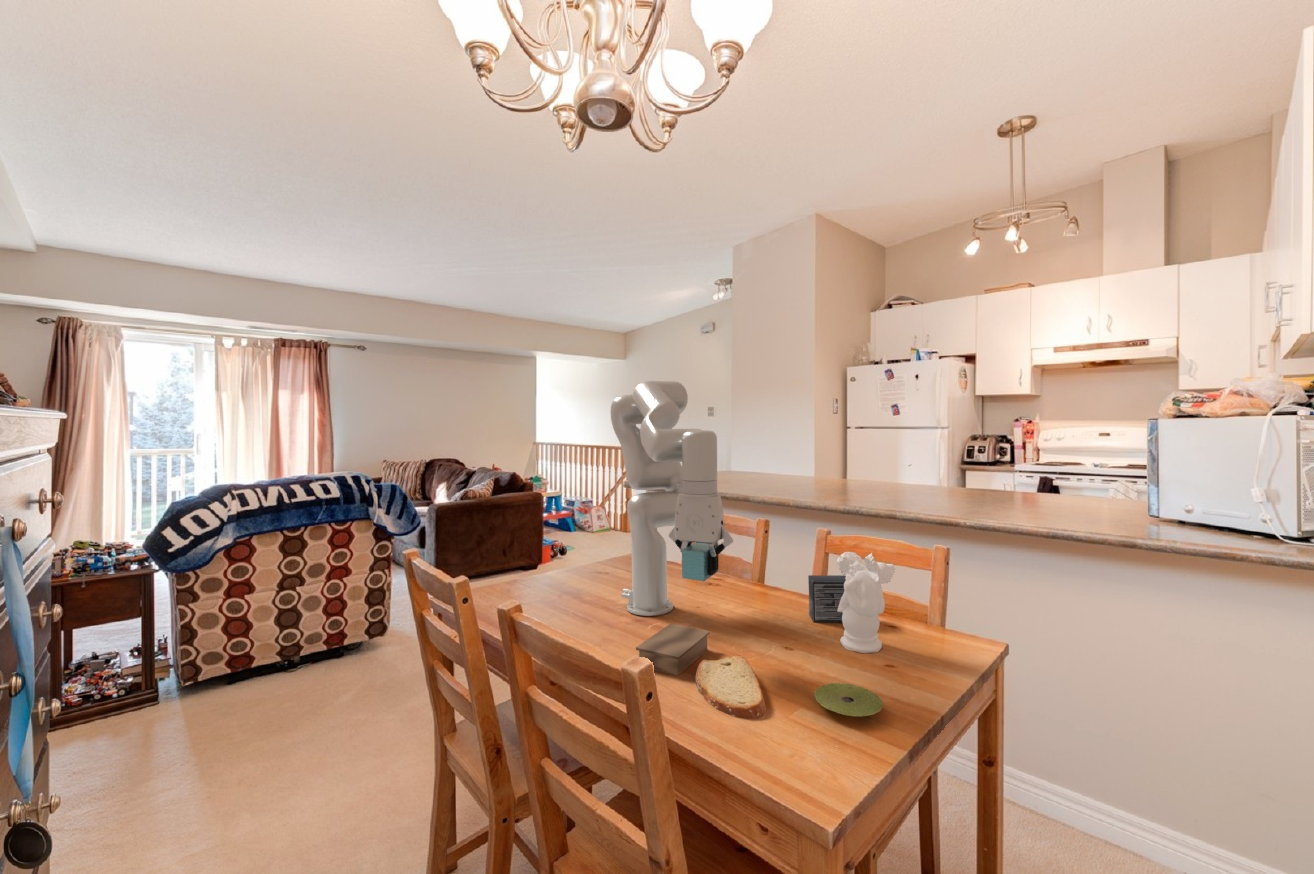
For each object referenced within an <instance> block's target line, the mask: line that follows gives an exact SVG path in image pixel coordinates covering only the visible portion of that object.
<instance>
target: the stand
mask: <svg viewBox="0 0 1314 874" xmlns="http://www.w3.org/2000/svg"><path fill="white" fill-rule="evenodd" d="M709 635H711V631H709V630H705V629H699V628H695V627H690V626H685V625H679V624H675V623H670V624H669V623H668V625H666V626H665V627H663V628H662V629H661V630H659V631H657V633H655V634H653V635H652V636H650V637H649V638H647V639H646V640H645V641H643V642H642V643H640V644H638V645H637V646H636V647H635V650H636V651H638V656H639V657H645V658H648V659H649V660H650V661H651V662H653V665H654V669H655V670H654V671H658V672H663V673H666V674H670V675H674V676H679V675H680V674H681V673H682V672H684V671H685V670H686V669H687V668H688V667H689V666H691V665H692V664H693V663H694V662H695V661H697V659H698V658H699V657H701V656H702V654H704V653H705V652H706V651H707V650H708V636H709Z"/></svg>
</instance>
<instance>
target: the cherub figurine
mask: <svg viewBox="0 0 1314 874" xmlns="http://www.w3.org/2000/svg"><path fill="white" fill-rule="evenodd" d="M863 561H864V562H863ZM836 563H837V565H838V569H839V570H840V573H841V575H846V578H845V579H846V581H845V583H844V590H845V591H844V594H843V596H842V598H841V600H840V603H839V606H838V610H837V611H838V612H842V613H843V614H842V623H841V624H842V625H843V628H844V630H843V635H842V636H841V637H840V644H841V645H842V646H843V648H844V649H846V650H848V651H852V652H858V653H861V654H869V653H878V652H879V651H880V650H881V649H882V647H883V645H882V642H881V640H880V639H879V634H878V630H879V628H880V617H879V615H881V614H883V613H884V612H885V608H886V607H885V604H886V603H885V597H884V594H883V587H882V584H888V583H890V582H891V580H892V578H893V577H894V573H896V572H895V570H896V567H895V566H894V564H893V563H889V564H887V563H883V562H878V561H876V560H875V557H874V554H873V552H871V553H870V554H868V555H867V556H865V557H864V560H862V557H861V556H860V555H858V554H857V553H856V552H852V551H845V552H843V553H841V554H840V555H839V557H838V558H837V559H836Z"/></svg>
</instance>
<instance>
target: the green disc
mask: <svg viewBox="0 0 1314 874" xmlns="http://www.w3.org/2000/svg"><path fill="white" fill-rule="evenodd" d="M814 698H815V700H816V702H817V703H818V704H819V705H820V706H822V708H823V707H824V709H827V710H829V711H831V712H835V713H837V714H840V715H843V716H848V717H849V716H850V717H860V718H861V717H867V716H872V715H873V716H874V715H875V714H877V713H879V712H881V710H883V709H882V708H883V706H884V702H883V700H882V698H881V697H880V696H879V695H877V693H875V692H873V691H872V690H869V689H868V688H865V687H863V686H860V685H855V684H849V683H842V682H832V683H826V684H822V685H821V686H819V687H816V689H815V691H814Z"/></svg>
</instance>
